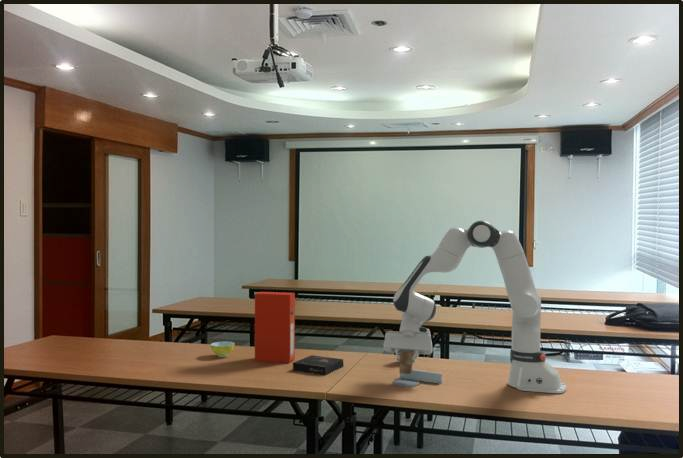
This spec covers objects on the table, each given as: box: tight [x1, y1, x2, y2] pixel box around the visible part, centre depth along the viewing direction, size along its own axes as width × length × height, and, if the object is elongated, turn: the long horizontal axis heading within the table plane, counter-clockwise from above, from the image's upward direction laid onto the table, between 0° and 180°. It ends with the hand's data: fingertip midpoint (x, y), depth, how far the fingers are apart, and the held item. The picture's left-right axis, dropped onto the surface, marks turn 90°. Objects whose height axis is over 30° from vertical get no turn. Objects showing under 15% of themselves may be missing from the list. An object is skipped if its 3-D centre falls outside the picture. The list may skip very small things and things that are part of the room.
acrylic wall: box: [398, 369, 443, 385], centre depth 235 cm, size 18×2×4 cm, turn 64°
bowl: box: [210, 340, 236, 358], centre depth 276 cm, size 11×12×6 cm
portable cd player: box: [292, 354, 344, 376], centre depth 253 cm, size 16×17×4 cm
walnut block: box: [398, 351, 413, 374], centre depth 231 cm, size 4×4×8 cm
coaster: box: [392, 378, 420, 388], centre depth 231 cm, size 11×11×1 cm
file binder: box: [254, 291, 296, 364], centre depth 269 cm, size 8×17×32 cm, turn 78°
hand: (405, 360), depth 230 cm, fingers closed on walnut block, 4 cm apart
